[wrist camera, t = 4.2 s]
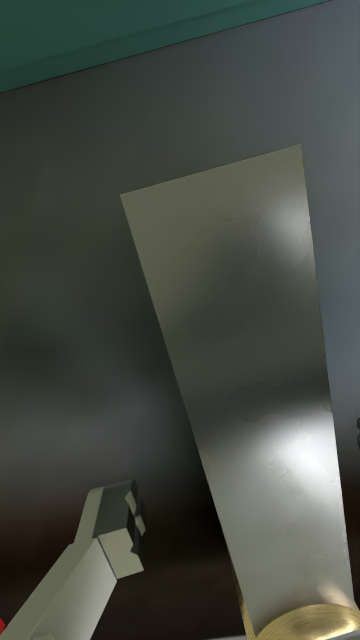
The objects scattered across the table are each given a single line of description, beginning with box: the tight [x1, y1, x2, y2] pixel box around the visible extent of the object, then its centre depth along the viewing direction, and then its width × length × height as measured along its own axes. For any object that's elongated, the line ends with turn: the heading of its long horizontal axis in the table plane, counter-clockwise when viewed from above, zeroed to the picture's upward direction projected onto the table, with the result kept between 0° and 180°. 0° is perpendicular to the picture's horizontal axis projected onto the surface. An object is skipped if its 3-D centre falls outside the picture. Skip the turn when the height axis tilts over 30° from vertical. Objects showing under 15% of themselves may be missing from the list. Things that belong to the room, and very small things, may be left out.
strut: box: [120, 144, 360, 640], centre depth 10 cm, size 20×5×5 cm, turn 15°
